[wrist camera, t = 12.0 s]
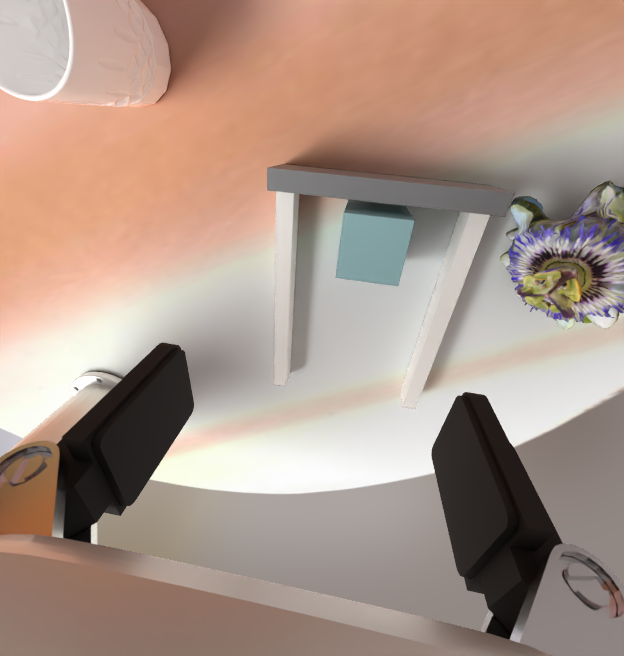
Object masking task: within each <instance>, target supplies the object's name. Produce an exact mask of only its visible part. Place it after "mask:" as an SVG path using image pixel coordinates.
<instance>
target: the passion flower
mask: <svg viewBox="0 0 624 656" xmlns="http://www.w3.org/2000/svg"><path fill="white" fill-rule="evenodd" d="M510 211H511V212H512V214H513V216H514V220H515V221H516V223H517V224H518V225H519V228H516V229H513V230H511V231H509V232H507V233H506V236H508V237H509V239H510V240H511V241H513V243H512V246H511V248H510V249H509V251H508V252H506V253H504V254H503V255H502V256H501V257H500V260H501V262H502V263H503V264H504V265H505V266H506V267H507V268H506V269H507V270H508V271H509V273H510V274H511V275H512V278H511V279H512V280H513V282H518V284H519V285H518V286H517V287H516V288H515V290H517V291H516V294H517V296H518V297H520V298H522V301H524V302H526V303H525V305H526V304H527V303H528V304H529V305H530V306H533V307H532V308H531V310H530V312H531V311H532V309H533V308H535V309H536V310H537V309H541V311H542V312H545V313H546V314H547V317H552V318H553V319H556V321H557V323H558V325H559V326H560V327H561V328H562V329H569V328H571V327H572V326H573V325H574V322H575V321H576V322H578V321H582V322H583V323H591V322H593V323H594V324H595V325H597V326H598V327H600V328H601V329H607V328H610V327H611V326H612V325H613V324H614V323H615V322H616V321H617V319H618V316H619V312H620V313H624V307H623V306H624V187H617V186H615V185H614V184H613V183H612V182H611V181H607V182H605V183H603V184H601V185H598V186H597V187H596V188H594V189H593V190H592V191H591V192H590V194H589V195H588V196H587V197H586V199H585V200H584V202H583V203H582V204H581V205H580V206H579V207H578V209H577V210H576V211H575V212H574V214H573V215H572V216H571V217H570V218H568V219H566V220H550V219H548V218H547V217H546V216H545V214H544V213H543V211H542V205H541V203H539V202H538V201H537V200H536V199H534V198H533V197H531V196H522V197H517V198H515V199H514V200H513V202H512V204H511V206H510Z"/></svg>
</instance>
